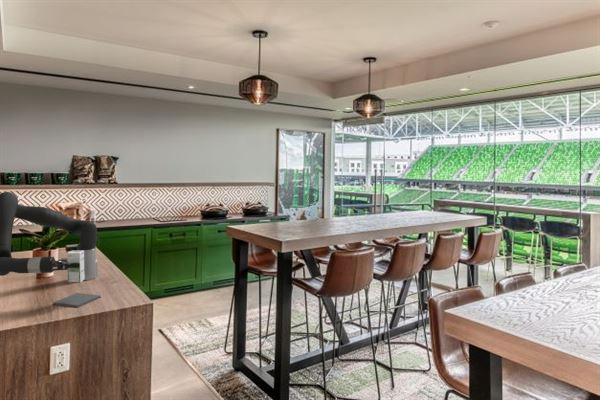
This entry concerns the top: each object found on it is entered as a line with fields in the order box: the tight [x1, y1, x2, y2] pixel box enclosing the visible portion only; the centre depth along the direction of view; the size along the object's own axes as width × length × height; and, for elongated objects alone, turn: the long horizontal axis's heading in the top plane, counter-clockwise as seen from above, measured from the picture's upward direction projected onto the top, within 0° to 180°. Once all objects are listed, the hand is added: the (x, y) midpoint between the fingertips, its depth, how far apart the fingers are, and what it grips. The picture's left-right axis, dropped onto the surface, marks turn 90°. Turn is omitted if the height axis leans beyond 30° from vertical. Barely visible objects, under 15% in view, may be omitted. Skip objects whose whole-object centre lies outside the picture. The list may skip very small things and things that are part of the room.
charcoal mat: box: [52, 292, 102, 308], centre depth 185 cm, size 14×14×1 cm
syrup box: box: [66, 250, 85, 284], centre depth 183 cm, size 6×6×14 cm
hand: (81, 263), depth 184 cm, fingers closed on syrup box, 6 cm apart
